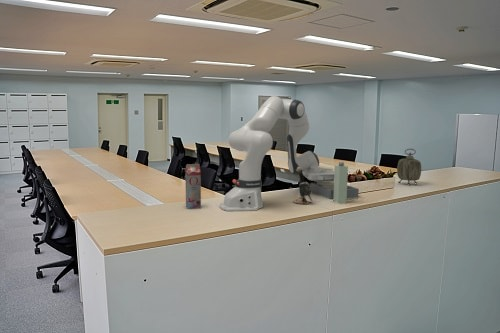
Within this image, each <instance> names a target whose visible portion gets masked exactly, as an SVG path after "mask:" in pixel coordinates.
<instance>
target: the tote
mask: <svg viewBox="0 0 500 333" xmlns="http://www.w3.org/2000/svg"><path fill="white" fill-rule="evenodd" d="M316 183H317V182H310V183H309V185H310V187H311V191H312V192H311V193H314V194H316V195H318V196H321V197H324V198H326V199H329V200H333V198H334V190H330V189H327V188H324V187H322V186H319V185H316ZM359 191H360V190H359V188H358V187H354V186H350V185H349V184H347V199H356V200H359V195H360V194H359ZM347 199H346V201H348V200H347Z"/></svg>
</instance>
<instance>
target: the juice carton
mask: <svg viewBox="0 0 500 333" xmlns="http://www.w3.org/2000/svg"><path fill="white" fill-rule="evenodd" d="M200 166H201V165H200V163H192V164H190V163H189V164H188V163H187V164H186V165H185V208H186V209H187V210H195V209H196V210H199V209H200V210H201V209H202V193H201V192H202V189H201V188H202V183H201V181H202V178H201V176H202V175H201V173H202V171H201V167H200Z"/></svg>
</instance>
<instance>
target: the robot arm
mask: <svg viewBox="0 0 500 333" xmlns="http://www.w3.org/2000/svg"><path fill="white" fill-rule="evenodd" d="M279 119H280V120H287V122H288V126H289V127H288V128H289V129H288V130H289V131H288V135H287V136H286V147H287V157H288V158H287V161H288V162H287V167H288V170H289V172H290V173H291V174H293V175H297V176H299V173H296V169H297V167H300V168H301V169H302V171H301V174H302V176H304V177H305V178H307V180H309V181H314V182H315V183H317V182H324V181H334V173H335V170H334V169H332V168H324V167H321V166H320V159H319V157H318V155H317V154H316V153H315V152H313V151H311V150H308V151H306V152H304V153H301V154H299V155H298V154H297V146H298V144H299V143H300V141H301V140H302V139H304V137H305V136H306V135H307V134H308V133H309V130H310V123H309V121H308V120H309V119H308V116H307V113H306V111H305V105H304V103H303V101H301V100H299V99H291V98H290V99H288V98H281V97H279V96H276V95H272V96H270V97H269V98H267V99H266V100H265V101H264V102H263V103H262V104H261V106H260V107H259V109H258V110H257V111H256V113H255V114H254V116H253V117H252V118H251V119H250V120H249V121H247V123H245V124H244V125H243V126H241V127H240V128H238V129H237V130H234V131H232V132H231V133H230V134H229V137H228V143H229V146H230V147H231V149H232V150H236V151H239V152H246V155H245V157H244V159H243V160H242V161H240V163H239V165H238V179H232V183H233V184H234V187H233V188H232V189H230V190H229V191H228V192H226V193H225V195H224V199H223V202H222V203H219V208H220V209H221V210H222V211H227V212H235V211H236V212H237V211H238V212H242V211H249V212H250V211H258V210H259V209H262V208H263V207H264V204H263V198H262V187H263V186H262V179H261V176H262V175H261V174H262V173H261V172H262V164H263V161H264V158H265V156H266V154H267V153H269V152H270V150H271V149H272V148H273V143H274V140H273V137H272V135H271V134H270V133H269V132H270V131H271V130H272V129H273V127H274V126H275V124H276V123H277V121H278V120H279ZM297 155H298V156H297Z"/></svg>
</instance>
